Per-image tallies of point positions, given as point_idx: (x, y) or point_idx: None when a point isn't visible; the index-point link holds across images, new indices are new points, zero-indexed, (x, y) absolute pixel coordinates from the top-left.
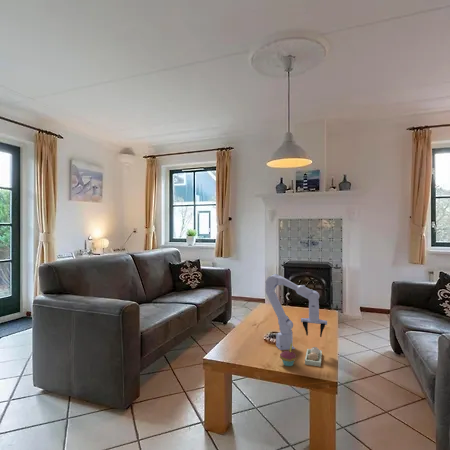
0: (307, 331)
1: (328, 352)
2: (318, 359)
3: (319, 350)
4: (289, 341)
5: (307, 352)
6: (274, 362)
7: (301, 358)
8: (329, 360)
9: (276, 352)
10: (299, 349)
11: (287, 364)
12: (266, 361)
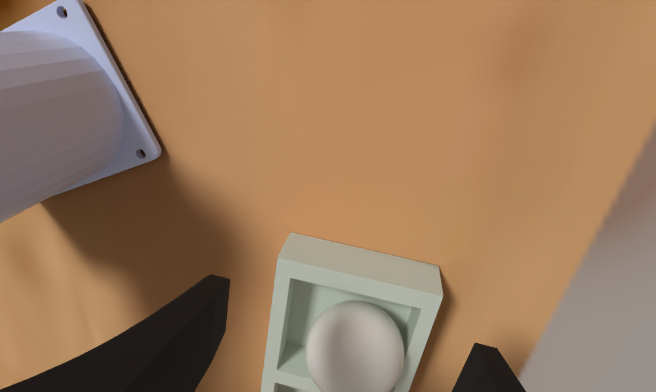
0: (190, 370)
1: (542, 201)
2: None
3: (414, 298)
4: (38, 202)
5: (277, 342)
6: None
7: (237, 335)
8: None
9: (20, 236)
10: (209, 148)
11: None
12: (13, 373)
